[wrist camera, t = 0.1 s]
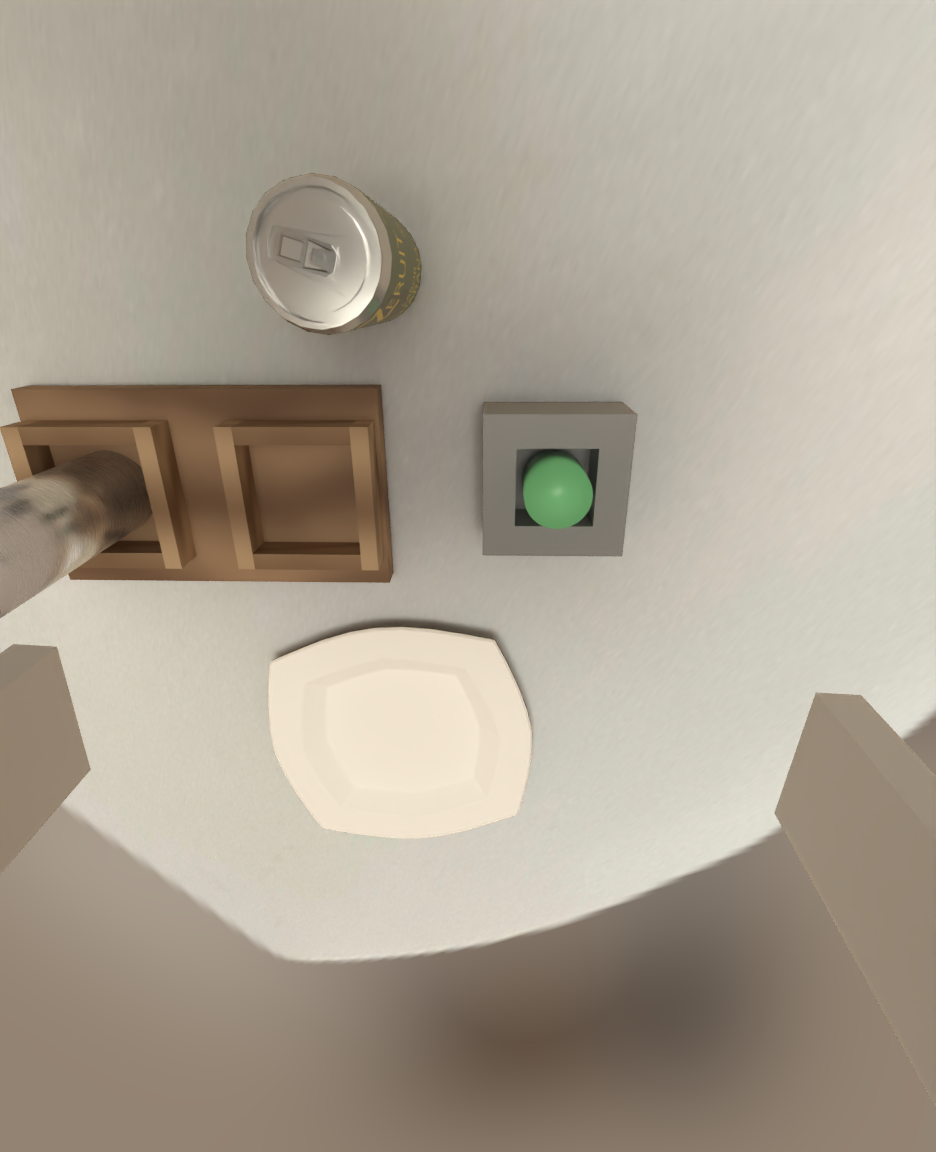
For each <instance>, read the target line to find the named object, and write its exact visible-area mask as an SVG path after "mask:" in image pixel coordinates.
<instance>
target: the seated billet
mask: <svg viewBox="0 0 936 1152" xmlns="http://www.w3.org/2000/svg"><path fill="white" fill-rule="evenodd" d="M152 514H153V513H152V509H151V504H150V500H149V496H148V492H147V487H146V483H145V479H144V475H143V471H142V468H141V467H140V466H139V465H138V464H137V463H136V462H134V461H133V460H132V459H130V458H128V457H127V456H125V455H122V454H120V453H117V452H113V451H106V450H102V451H95V452H92V453H89V454H86V455H84V456H81V457H79V458H76V459H74V460H71V461H69V462H66V463H64V464H61V465H58V466H56V467H53V468H51V469H48V470H46V471H43V472H41V473H38V474H36V475H33V476H30V477H28V478H25V479H23V480H20V481H18V482H15V483H13V484H10V485H8V486H5V487H2V488H0V618H1V617H3V616H4V615H6V614H7V613H9V612H11V611H12V610H14V609H15V608H17V607H18V606H20V605H21V604H23V603H24V602H26V601H27V600H29V599H30V598H32V597H33V596H35V595H36V594H38V593H39V592H41V591H43V590H44V589H46V588H47V587H49V586H50V585H52V584H53V583H55V582H56V581H58V580H59V579H61V578H62V577H64V576H65V575H67V574H68V573H70V572H71V571H73V570H75V569H76V568H78V567H79V566H81V565H82V564H84V563H85V562H87V561H88V560H90V559H91V558H93V557H94V556H96V555H97V554H99V553H100V552H102V551H103V550H105V549H107V548H108V547H110V546H111V545H113V544H114V543H116V542H117V541H119V540H120V539H122V538H123V537H125V536H126V535H128V534H129V533H131V532H132V531H134V530H136V529H137V528H139V527H140V526H142V525H143V524H144V523H146V522H147V521H148V520H149V519H150V517H151V516H152Z"/></svg>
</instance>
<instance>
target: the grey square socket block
mask: <svg viewBox="0 0 936 1152" xmlns="http://www.w3.org/2000/svg"><path fill="white" fill-rule="evenodd" d="M636 421H637V414H636V413H635V412H634V411H633V410H631V409H630V408H629V407H628V406H627V405H625V404H624V403H623V402H484V410H483V555H516V556H622V552H623V543H624V533H625V524H626V515H627V505H628V496H629V487H630V477H631V468H632V459H633V449H634V440H635V431H636ZM548 450H562V451H565V452H568V453H570V454H572V455H573V456H574V457H576V458H577V459H578V461H579V462H580V463H581V465H582V467H583V469H584V471H585V473H586V475H587V476H588V478H589V480H590V483H591V485H592V490H593V499H592V504H591V507H590V509H589V511H588V512H587V514H586V515H585V516H584V517H583V518H582V519H581V520H580V521H579V522H578V523H576V524H574V525H572V526H570V527H567V528H563V529H551V528H547V527H544V526H542V525H540V524H538V523H537V522H535V521H534V520H533V519H532V518H531V517H530V515H529V514H528V512H527V510H526V507H525V502H524V496H523V489H522V475H523V472H524V469H525V467H526V465H527V464H528V463H529V461H530V460H531V459H532V458H534V457H535V456H536V455H538V454H540V453H542V452H544V451H548Z"/></svg>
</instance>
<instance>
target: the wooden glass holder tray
mask: <svg viewBox="0 0 936 1152" xmlns="http://www.w3.org/2000/svg"><path fill="white" fill-rule="evenodd" d="M11 391H12V394H13V397H14V401H15V404H16V407H17V410H18V413H19V417H20V420H21V422H17V423H13V424H10V425H6V426H2V427H0V430H1V433H2V436H3V439H4V442H5V445H6V448H7V451H8V455H9V458H10V461H11V464H12V467H13V470H14V473H15V476H16V479H17V482H18V481H20V480H23V479H25V478H28V477H30V476H33V475H36V474H38V473H41V472H43V471H46V470H48V469H51V468H53V467H56V466H58V465H61V464H64V463H66V462H69V461H71V460H74V459H76V458H79V457H81V456H84V455H86V454H89V453H92V452H95V451H102V450H106V451H113V452H117V453H120V454H122V455H125V456H127V457H128V458H130V459H132V460H133V461H134V462H136V463H137V464H138V465H139V466H140V467H141V468H142V471H143V475H144V479H145V483H146V487H147V492H148V496H149V500H150V504H151V509H152V513H153V514H152V516H151V517H150V519H149V520H148V521H147V522H146V523H144V524H143V525H142V526H140V527H139V528H137V529H136V530H134V531H132V532H131V533H129V534H128V535H126V536H125V537H123V538H122V539H120V540H119V541H117V542H116V543H114V544H113V545H111V546H110V547H108V548H107V549H105V550H103V551H102V552H100V553H99V554H97V555H96V556H94V557H93V558H91V559H90V560H88V561H87V562H85V563H84V564H82V565H81V566H79V567H78V568H76V569H75V570H73V571H71V572H70V573H68V574H69V577H70V580H175V581H282V582H388V583H390V580H391V577H392V574H393V563H392V548H391V533H390V518H389V502H388V487H387V472H386V456H385V441H384V426H383V411H382V395H381V385H120V386H25V387H20V388H15V389H11Z"/></svg>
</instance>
